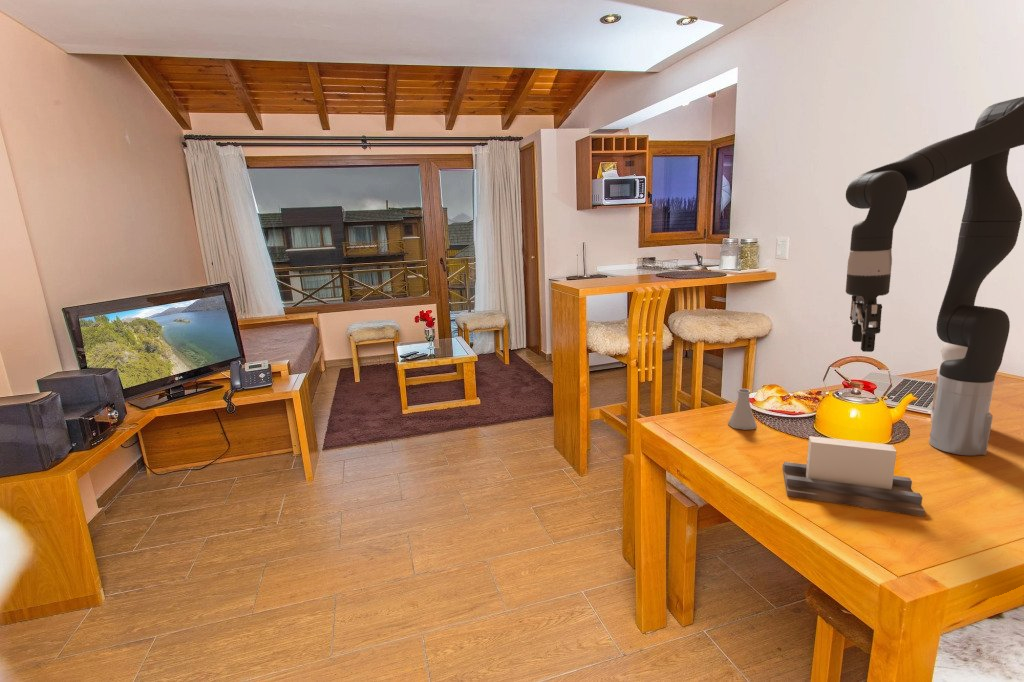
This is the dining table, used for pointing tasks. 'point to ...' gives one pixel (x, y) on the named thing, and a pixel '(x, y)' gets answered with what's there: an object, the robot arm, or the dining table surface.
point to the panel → (851, 462)
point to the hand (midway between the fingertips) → (862, 346)
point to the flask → (742, 412)
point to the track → (854, 499)
